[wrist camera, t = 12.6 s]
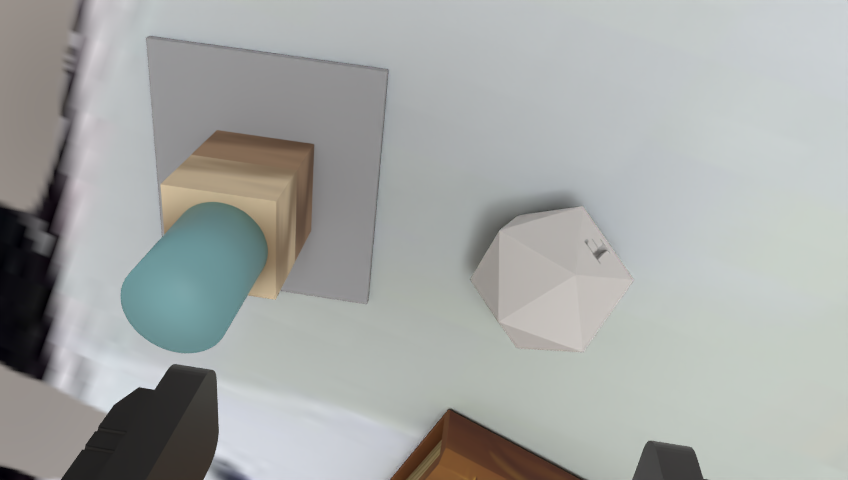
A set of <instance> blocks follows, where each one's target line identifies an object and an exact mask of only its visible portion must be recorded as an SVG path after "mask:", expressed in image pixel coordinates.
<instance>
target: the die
mask: <svg viewBox="0 0 848 480" xmlns="http://www.w3.org/2000/svg"><path fill="white" fill-rule="evenodd" d="M470 280H471V282H472V283H473V285H474V286H475V288H476V289H477V291H478V292H479V294H480V295H481V297H482V298H483V300H484V301H485V303H486V304H487V306H488V307H489V309H490V310H491V312H492V313H493V315H494V316H495V318H496V319H497V321H498V322H499V324H500V325H501V326H502V328H503V329H504V331H505V332H506V333H507V335H508V336H509V338H510V339H511V340H512V342H513V343H514V345H515V346H516V347H517V348H521V349H538V350H554V351H570V352H584V351H585V349H586V348H587V346H588V345H589V343H590V342H591V341H592V339H593V338H594V336H595V335H596V334H597V332H598V331H599V329H600V328H601V326H602V325H603V324H604V322H605V321H606V319H607V318H608V316H609V315H610V314H611V312H612V311H613V309H614V308H615V306H616V305H617V304H618V302H619V301H620V299H621V298H622V296H623V295H624V294H625V292H626V291H627V289H628V288H629V286H630V285H631V284H632V282H633V281H634V279H633V278H632V276H631V275H630V273H629V272H628V270H627V269H626V268H625V266H624V265H623V263H622V262H621V260H620V259H619V257H618V256H617V255H616V253H615V252H614V250H613V249H612V247H611V246H610V244H609V243H608V242H607V240H606V239H605V237H604V236H603V234H602V233H601V231H600V230H599V229H598V227H597V226H596V224H595V223H594V221H593V220H592V218H591V217H590V216H589V214H588V213H587V211H586V210H585V208H584V207H583V206H580V207H573V208H566V209H559V210H552V211H544V212H537V213H530V214H523V215H518V216H516V217H515V218H514V219H513V220H512V221H510V222H509V223H508V224H507V225H505V226H504V227H503V228H502V229H500V230H499V232H498V233H497V235H496V237H495V238H494V240H493V242H492V243H491V245H490V247H489V248H488V250H487V252H486V254H485V255H484V257H483V259H482V260H481V262H480V264H479V265H478V267H477V269H476V270H475V272H474V274H473V275H472V277H471V279H470Z"/></svg>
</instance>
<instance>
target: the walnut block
mask: <svg viewBox="0 0 848 480" xmlns="http://www.w3.org/2000/svg"><path fill="white" fill-rule="evenodd" d="M191 155H196V156H203V157H210V158H217V159H224V160H230V161H237V162H244V163H251V164H258V165H265V166H272V167H279V168H286V169H292V170H297V193H296V235H295V261H296V259H297V257H298V255H299V253H300V251H301V249H302V248H303V246H304V244H305V242H306V240H307V238H308V236H309V234H310V232H311V222H312V194H313V166H314V144H311V143H304V142H297V141H290V140H283V139H276V138H269V137H262V136H255V135H248V134H241V133H234V132H227V131H221V130H216V131H215V132H214V133H213V134H212V135H211V136H210V137H209V138H208V139H207V140H206V141H205V142H204V143H203V144H202V145H201V146H200V147H199V148H198V149H197V150H195V151H194V152H193V153H192V154H191Z"/></svg>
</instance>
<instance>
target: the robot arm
mask: <svg viewBox="0 0 848 480" xmlns="http://www.w3.org/2000/svg"><path fill="white" fill-rule="evenodd" d="M218 433H219V426H218V402H217V379H216V373H215V371H214V370H209V369H203V368H196V367H190V366H184V365H177V364H174V365H172V366H171V367H170V368H169V369H168V370H167V372H166V373H165V375H164V376H163V378H162V379H161V381H160V382H159V384H158V386H157V387H156V389H155V390H152V389H146V388H140V387H139V388H137V389H136V390H134V391H133V392H132V393H130V394H129V395H127V396H126V397H125V398H123V399H122V400H120V401H119V402H118V403H116V404H115V405H114V406H113V407H112V409H111V410H110V411H109V413H108V414H107V416H106V417H105V418H104V420H103V421H102V423H101V424H100V425H99V427H98V431H97V432H94V434H93V435H92V437H91V438H90V439H89V441H88V442H87V444H86V446H85V450H82V451H81V452H80V454H79V455H78V456H77V458H76V459H75V461H74V462H73V463H72V465H71V466H70V468H69V469H68V470H67V472H66V473H65V475H64V476H63V477H62V479H61V480H203V479H204V477H205V475H206V473H207V471H208V469H209V467H210V465H211V463H212V460H213V457H214V454H215V451H216V447H217V441H218ZM632 480H707V479H703V476H702V473H701V470H700V466H699V463H698V460H697V457H696V454H695V452H694V450H693V449H692V448H691V447H688V446H681V445H675V444H669V443H662V442H656V441H648V442H647V443H646V445H645V447H644V449H643V452H642V455H641V457H640V460H639V463H638V466H637V468H636V471H635V474H634V477H633V479H632Z"/></svg>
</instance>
